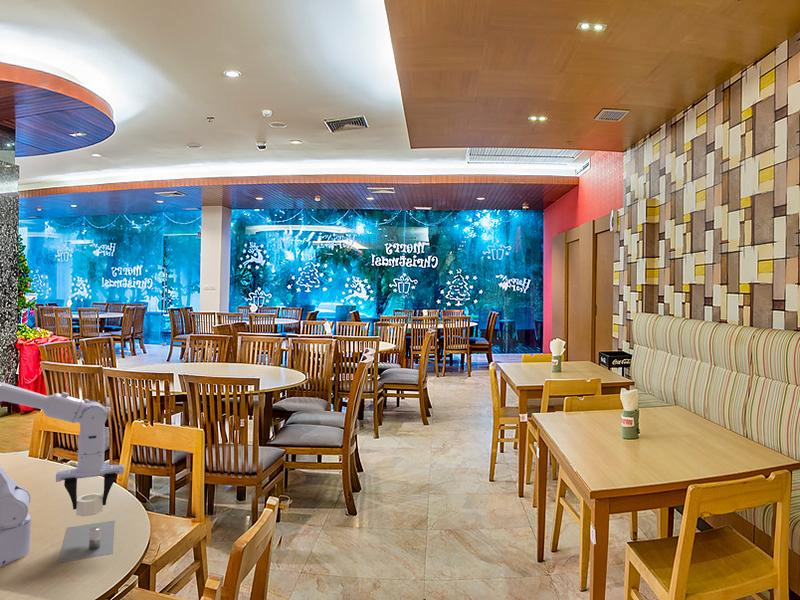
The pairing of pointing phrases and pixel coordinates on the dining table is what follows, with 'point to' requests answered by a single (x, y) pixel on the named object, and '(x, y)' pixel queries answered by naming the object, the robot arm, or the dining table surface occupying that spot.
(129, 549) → the dining table surface
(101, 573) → the dining table surface
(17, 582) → the dining table surface
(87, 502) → the cream ring
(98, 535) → the steel post
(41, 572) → the dining table surface
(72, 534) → the gray board
